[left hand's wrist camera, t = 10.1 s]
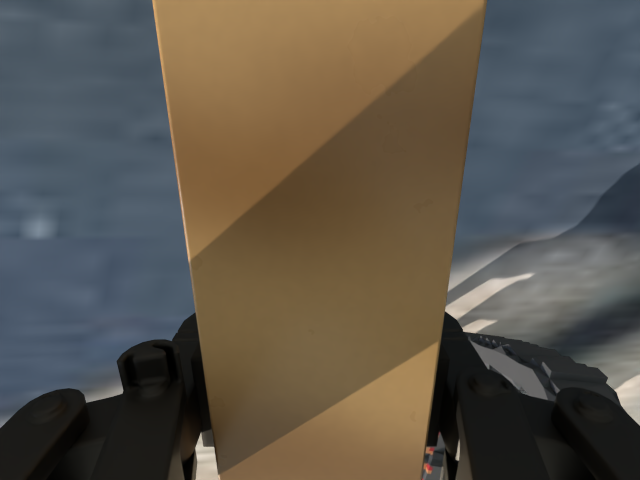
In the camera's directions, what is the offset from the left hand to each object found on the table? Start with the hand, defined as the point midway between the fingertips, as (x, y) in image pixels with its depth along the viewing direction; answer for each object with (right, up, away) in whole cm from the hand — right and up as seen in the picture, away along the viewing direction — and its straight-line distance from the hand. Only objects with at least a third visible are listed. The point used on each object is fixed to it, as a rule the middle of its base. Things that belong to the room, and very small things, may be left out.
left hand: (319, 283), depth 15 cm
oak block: (0, +10, -3) cm, 11 cm away
